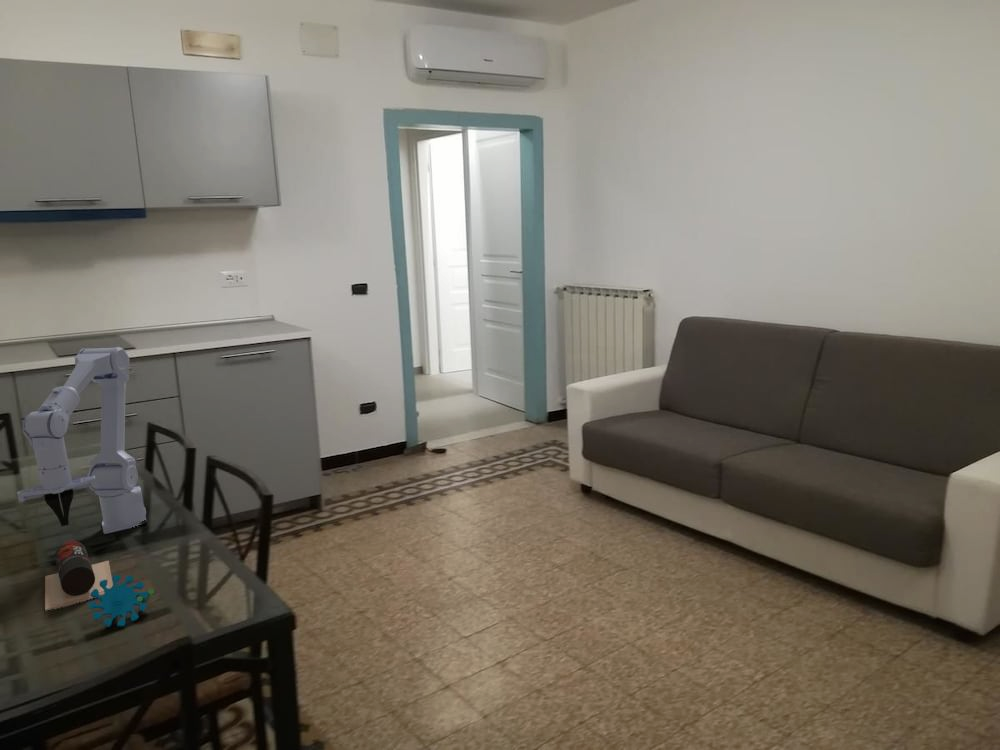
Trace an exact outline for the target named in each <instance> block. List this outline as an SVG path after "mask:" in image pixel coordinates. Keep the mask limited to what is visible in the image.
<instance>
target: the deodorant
mask: <svg viewBox="0 0 1000 750" xmlns="http://www.w3.org/2000/svg"><path fill="white" fill-rule="evenodd" d="M54 559H55V564H56V567H57V568H56V569H57V573H58V574H59V578H60V582H61V587H62V589H63V591H64V592H65V593H66V594H69V595H73V596H78V595H82V594H84V593H86V592H88V591H89V590H90V589H91V588H92V587H93V585H94V583H95V575H94V572H93V569H92V566H91V565H92V563H91V561H90V557H89V554H88V551H87V548H86V546H85V545H84V544H83V543H82V542H80V541H76V540H72V541H71V540H70V541H67V542H66V541H65V542H63V544H61V545H59V546H58V548H57V549H56V550H55V552H54Z"/></svg>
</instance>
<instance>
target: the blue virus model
mask: <svg viewBox="0 0 1000 750" xmlns="http://www.w3.org/2000/svg"><path fill="white" fill-rule="evenodd" d="M134 579H135V578H134V577H133V575H130V574H128V575H127V576H126V577H125V580H124V582H122V583H121V584H119V585H118V584H117V583H118V582H120V581H121V575H120V574H119V575H118V574H113V576H112V582H113V586H112V587H111V588H109V589H108V588H106V586H107V583H108V581H107V580H102V581H100V586H101V587H102V588H103V589H104V593H105V594H104V595H102V596H101V595H99V591H98V590H97V589H94V590H93V591H92V592H91V594H90V595H91V597H95V599H98V600H99V601H100V602H101V603H100V604H99V603H96V601H94V600H89V601H90V602H89V605H88V609H89V610H94V609H101V610H103V612H98V611H96V612H93V615H92V617H93V620H94V621H98V620H100V619H101V618H102V617H105V616H108V615H110V616H111V617H110V618H106V619H104V620H103V625H104V627H107V628H110V627H111V626H112V622H113V621H114V619H116V618H117V617H119V616H120V617H121V618H120V619H119V620H118V621H117V627H121V628H122V627H125V625H126V623H127V622H126V618H125V617H126V615H127V614H128V613H131V615H130V617H129V618H130V619H129V620H130V621H131V622H136V621H137V620H138V619H139V614H138V613H137V612H136V611H135V609H134V606H137V607H138V610H139V611H140V612H142V613H143V612H144V611H145V610H146V609H147V607H148V605H147V603H148V602H149V600H150V597H152V596H153V595H154V593H155V590H154V589H153V588H149V589H148V590H147V591H143V592H137V591H134V590H142V589H144V583H143V581H141V580H139V581H138V582H137V583H135V584H134V585H129V586H127V584H131V583H133V582H134Z"/></svg>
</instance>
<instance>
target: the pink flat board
mask: <svg viewBox="0 0 1000 750" xmlns="http://www.w3.org/2000/svg"><path fill="white" fill-rule="evenodd" d="M91 566H92V569H93V572H94V575H95V583H94V585H93V587H92V588H91V589H90V590H89V591H88V592H86V593H84V594H82V595H78V596H73V595H69V594H66V593H65V592H64V591H63V589H62V587H61V582H60V578H59V574H58V572H57V573H54V574H53V573H52V574H50V575H49V574H48V575H45V577H44V578H45V579H44V583H45V585H44V589H45V590H44V591H45V592H44V602H45V603H44V610H45V612H46V611H47V610H51V609H54V610H57V608H58V609H61V607H62V608H65V607H68V606H72V605H76V603H77V604H79V602H80V603H84V602H87V601H86V600H88V601H91V600H94V599H93V598H95V597H91V595H90V594H91V592H92V591H93V590H94V589H97V590H98V591H99V595H101V596H102V595H104V594H105V593H104V589H103V588H102V587H101V586H100V581H102V580H107V581H108V583H107V586H106V588H108V589H109V588H111V587H112V586H113V576H112V572H111V567H110V561H109V560H105V561H102V562H97V563H94V564H91ZM90 599H91V600H90ZM95 599H96V598H95ZM51 611H52V610H51ZM47 612H48V611H47Z"/></svg>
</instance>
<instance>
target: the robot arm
mask: <svg viewBox="0 0 1000 750" xmlns="http://www.w3.org/2000/svg"><path fill="white" fill-rule="evenodd" d="M74 363H75V367H74V368H73V369H72V372H71V373H70V375H69V377H68V378H67V379H66V380H65V383H64V384H63V386H62V385H61V386H57V387H53V389H51V393H50V394H49V395H48V397H47V398H46V399H45V400H44V401H43V402H42V404H41V405H40V406H39V408H38V409H37V411H31V412H30V413H29V414H27V415H26V416H25V418H24V419H23V422H22V427H23V428H22V429H21V431H22V433H23V435H24V436H25V438H26V439H27V440H28V443H29V446H30V447H31V448H33V452H34V457H35V461H36V466H37V471H38V476H39V481H40V484H39V485H35V486H33V487H30V488H26V489H21V490H18V491H17V495H16V496H17V499H18V503H24V502H25V501H28V500H32V499H38V498H42V497H44V502H45V504H46V505H47V506H49V508H50V509H51V510H52V511H53V512H54V515H55V516H56V517H57V520H58V521H59V523H60V526H61V527H65V526H69V514H70V510H71V504H72V502H73V498H74V491H77V490H81V489H85V488H89V490H91V491H93V492H94V493H95V496H98V499H99V504H100V509H101V515H102V521H101V526H102V531H103V534H104V535H106V534H111V533H116V532H120V531H124V530H129V529H132V527H133V528H136V527H135V526H137V527H139V526H138V525H140V524H139V523H140V522H142V521H144V520H146V521H147V516H146V515H147V510H146V507H145V504H144V499H143V493H142V490H141V489H142V488H141V486H139V485H138V486H136V485H137V484H138V483H137V482H138V479H139V475H138V470H137V463H136V459H135V458H134V457H133V456H131V455H130V454H129V453H127V452H126V451H125V437H126V436H125V435H126V434H125V432H126V429H125V428H126V392H127V391H126V389H127V382H128V381H130V357H129V355H128V353H127V352H126V350H125V349H124V348H123V347H121V346H115V347H99V348H97V347H96V348H95V347H93V348H88V347H85V348H83V347H82V348H80V350H79V351H78V353H77V354H76V356H74ZM91 381H92V382H93V383H96V384H98V385H99V386H100V388H101V409H100V410H101V411H100V412H101V417H100V448H99V453H98V454H97V455H95V456H94V457H93V458H92V459H91V460H90V463H89V464H90V465H89V470H88V473H87V476H83V477H76V478H75V477H74V478H72V474H71V467H70V465H69V464H70V463H69V458H68V454H67V453H68V452H67V448H66V443H65V437H64V436H65V434H66V433H67V431H68V427H69V422H70V419H71V418H70V416H71V415H72V413H73V412H74V411H75V409H76V408H77V407H78V405H79V404H80V402H81V397H80V394H81V392H82V391H84V389H85V388H86V387H87V386H88V385H89V384H90V382H91ZM109 464H110V465H109Z"/></svg>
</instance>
